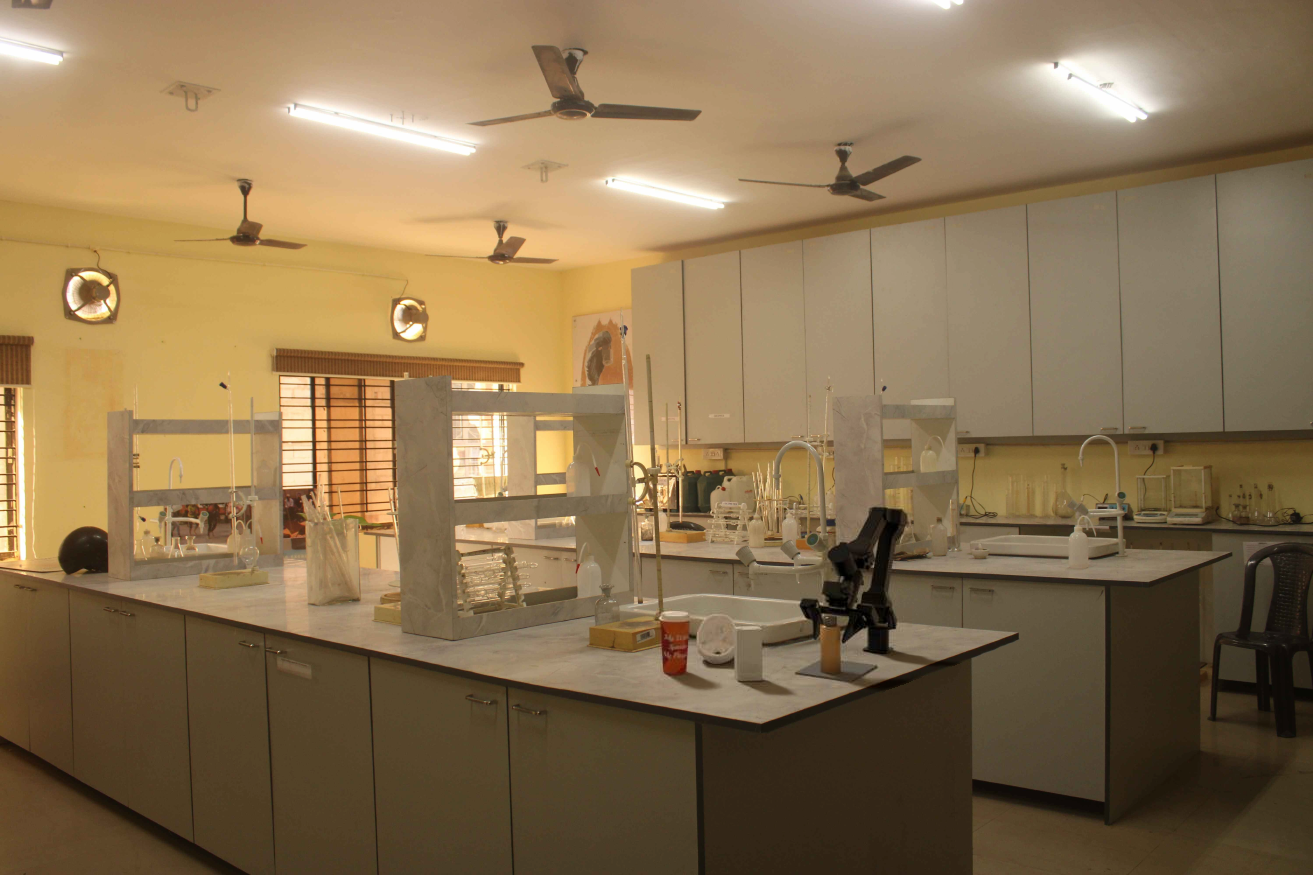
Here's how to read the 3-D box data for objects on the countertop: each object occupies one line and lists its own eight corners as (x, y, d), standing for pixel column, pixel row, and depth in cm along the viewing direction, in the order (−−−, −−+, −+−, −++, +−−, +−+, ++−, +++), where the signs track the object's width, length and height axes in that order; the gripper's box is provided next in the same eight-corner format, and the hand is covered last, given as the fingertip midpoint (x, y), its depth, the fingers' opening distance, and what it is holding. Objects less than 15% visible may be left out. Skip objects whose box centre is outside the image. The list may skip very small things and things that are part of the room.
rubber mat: (823, 659, 243) (823, 657, 243) (877, 666, 236) (877, 664, 236) (795, 673, 228) (795, 672, 228) (851, 681, 220) (851, 680, 220)
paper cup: (663, 676, 224) (663, 616, 224) (655, 668, 232) (655, 611, 232) (695, 674, 226) (695, 615, 227) (685, 667, 234) (686, 609, 234)
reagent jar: (820, 668, 231) (820, 614, 231) (840, 669, 230) (840, 615, 230) (820, 673, 226) (819, 619, 226) (840, 674, 225) (840, 619, 225)
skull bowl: (742, 646, 251) (740, 611, 244) (737, 686, 239) (735, 651, 233) (702, 644, 253) (699, 609, 246) (695, 684, 241) (692, 648, 235)
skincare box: (759, 676, 225) (759, 625, 225) (763, 681, 220) (763, 628, 220) (733, 677, 224) (733, 625, 224) (736, 682, 220) (736, 629, 220)
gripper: (802, 565, 237) (782, 616, 228) (874, 571, 226) (856, 624, 217) (815, 592, 243) (796, 643, 234) (886, 599, 233) (869, 653, 224)
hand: (828, 640), depth 227 cm, fingers open, 7 cm apart
